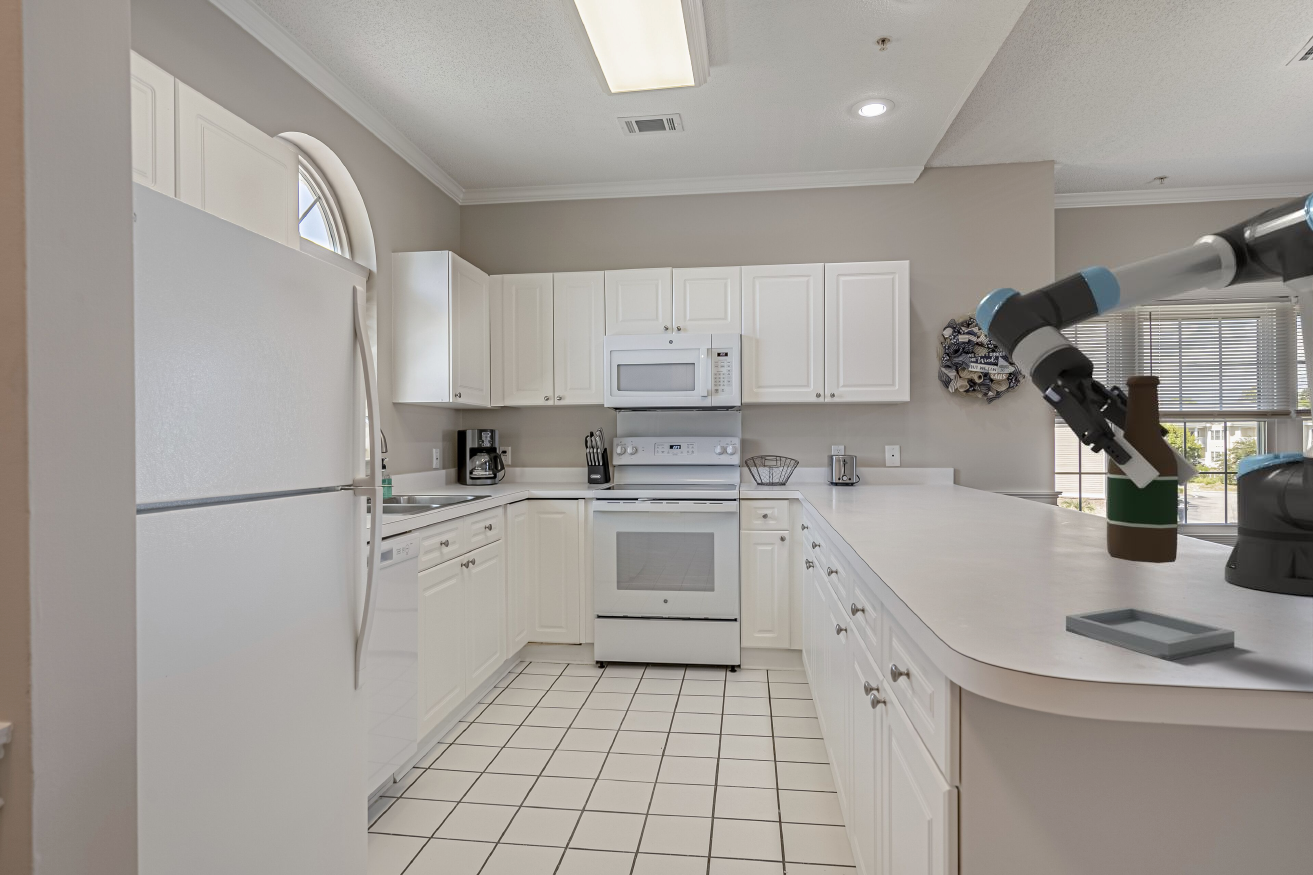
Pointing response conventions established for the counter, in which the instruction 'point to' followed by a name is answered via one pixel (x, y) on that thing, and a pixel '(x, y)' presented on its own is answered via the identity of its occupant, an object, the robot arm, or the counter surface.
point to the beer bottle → (1149, 513)
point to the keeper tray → (1150, 632)
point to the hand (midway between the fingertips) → (1169, 479)
